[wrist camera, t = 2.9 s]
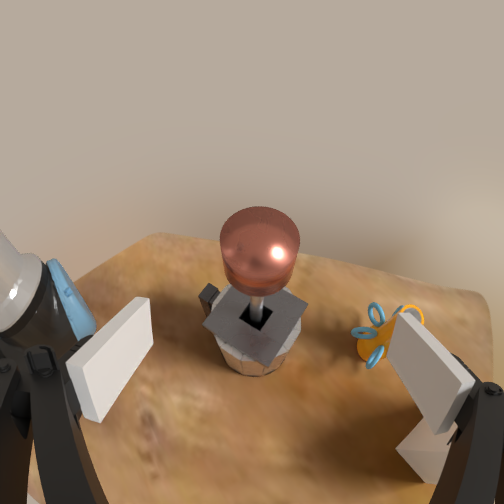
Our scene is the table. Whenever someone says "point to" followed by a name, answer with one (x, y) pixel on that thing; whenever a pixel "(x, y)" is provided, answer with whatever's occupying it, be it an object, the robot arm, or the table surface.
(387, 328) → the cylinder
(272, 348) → the press carafe
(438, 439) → the milk
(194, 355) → the table surface
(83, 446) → the robot arm
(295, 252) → the plunger
